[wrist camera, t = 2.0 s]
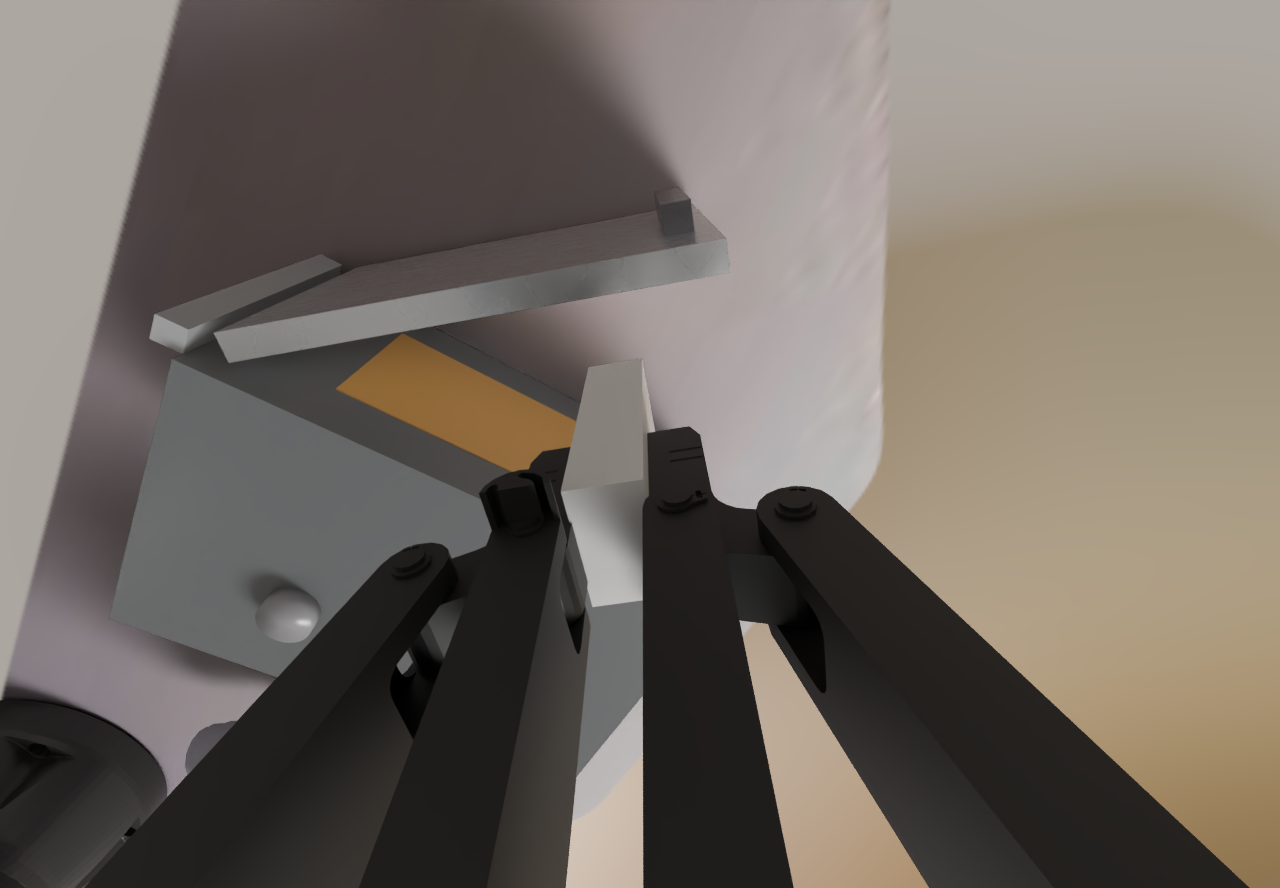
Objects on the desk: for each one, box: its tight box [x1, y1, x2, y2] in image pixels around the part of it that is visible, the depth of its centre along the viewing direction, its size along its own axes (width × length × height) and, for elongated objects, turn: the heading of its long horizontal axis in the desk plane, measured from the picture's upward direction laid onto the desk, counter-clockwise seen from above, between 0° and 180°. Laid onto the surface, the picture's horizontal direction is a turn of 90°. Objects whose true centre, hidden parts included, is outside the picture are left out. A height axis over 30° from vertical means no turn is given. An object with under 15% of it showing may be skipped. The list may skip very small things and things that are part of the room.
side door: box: [214, 187, 730, 363], centre depth 23 cm, size 2×16×11 cm, turn 100°
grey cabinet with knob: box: [109, 254, 643, 777], centre depth 28 cm, size 13×24×13 cm, turn 60°
